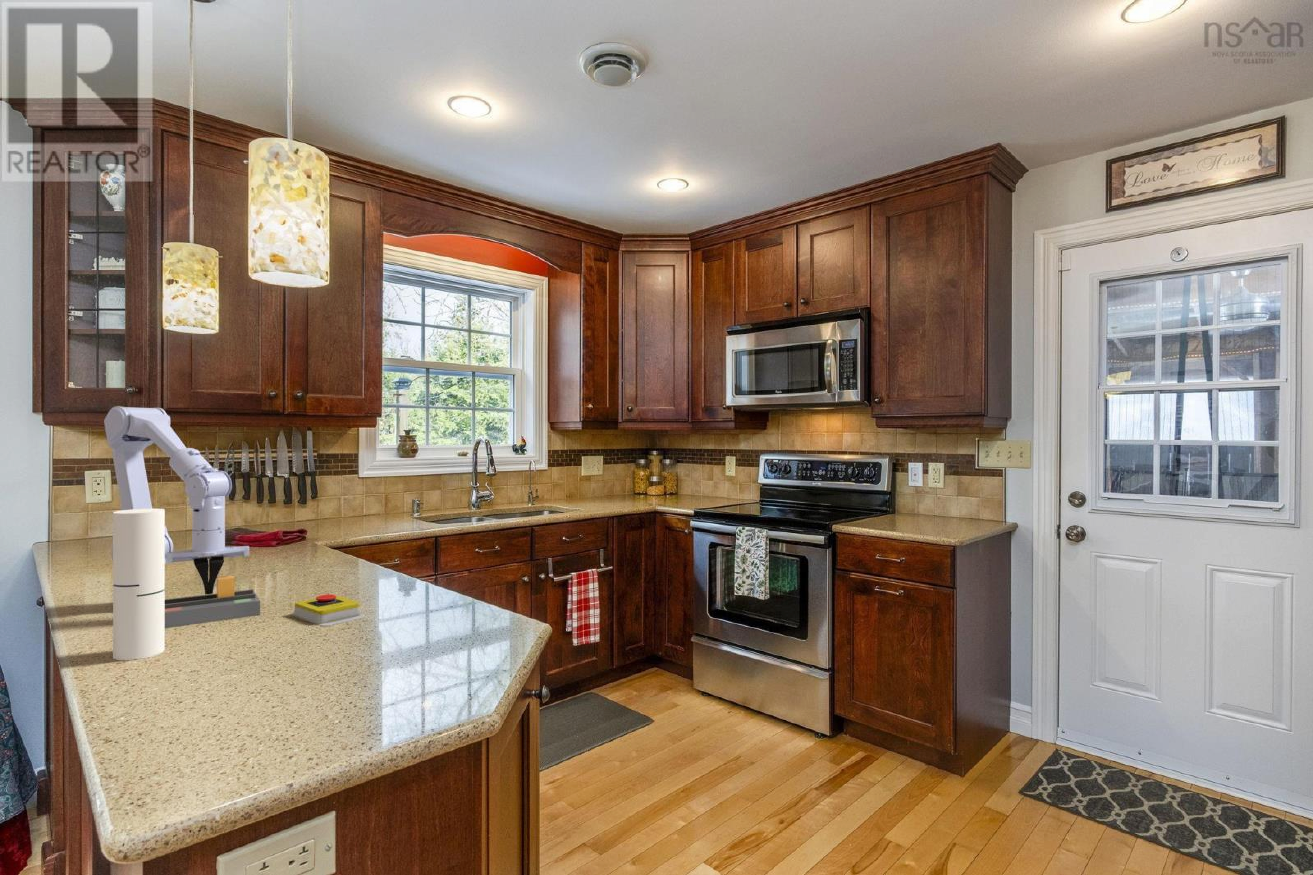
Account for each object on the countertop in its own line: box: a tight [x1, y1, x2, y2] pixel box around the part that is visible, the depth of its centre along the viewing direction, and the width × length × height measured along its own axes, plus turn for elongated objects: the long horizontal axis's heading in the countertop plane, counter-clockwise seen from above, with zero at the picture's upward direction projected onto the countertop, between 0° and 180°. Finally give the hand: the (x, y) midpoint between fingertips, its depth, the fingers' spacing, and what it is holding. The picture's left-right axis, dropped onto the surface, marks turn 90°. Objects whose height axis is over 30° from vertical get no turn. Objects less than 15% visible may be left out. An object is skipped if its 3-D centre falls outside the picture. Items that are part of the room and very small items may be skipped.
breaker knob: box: [216, 575, 235, 598], centre depth 143 cm, size 3×3×4 cm
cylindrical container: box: [112, 508, 166, 661], centre depth 117 cm, size 7×7×25 cm
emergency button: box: [290, 594, 367, 627], centre depth 142 cm, size 9×4×15 cm
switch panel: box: [165, 588, 261, 629], centre depth 141 cm, size 12×18×4 cm, turn 127°
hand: (208, 593), depth 141 cm, fingers closed
